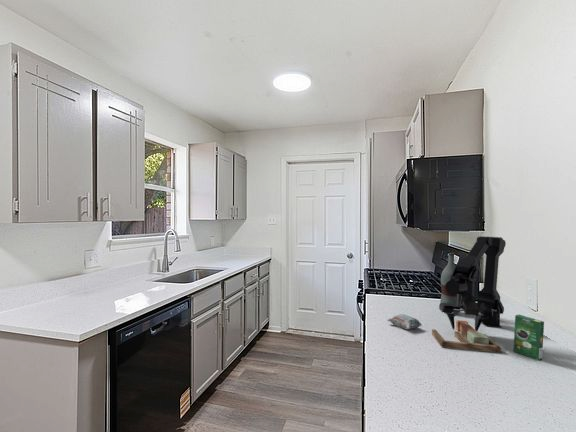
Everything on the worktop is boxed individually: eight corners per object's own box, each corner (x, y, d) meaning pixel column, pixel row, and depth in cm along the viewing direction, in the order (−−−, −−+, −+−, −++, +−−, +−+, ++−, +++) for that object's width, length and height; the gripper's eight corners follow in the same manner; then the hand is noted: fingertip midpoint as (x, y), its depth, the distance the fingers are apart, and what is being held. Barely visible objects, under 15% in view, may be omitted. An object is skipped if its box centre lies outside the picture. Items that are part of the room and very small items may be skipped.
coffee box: (544, 359, 105) (544, 320, 105) (539, 361, 104) (540, 321, 104) (518, 350, 112) (518, 313, 112) (513, 351, 111) (514, 314, 111)
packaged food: (408, 333, 127) (408, 321, 127) (386, 324, 137) (386, 313, 137) (422, 330, 131) (422, 318, 131) (399, 322, 141) (400, 311, 141)
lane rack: (484, 339, 122) (484, 333, 122) (501, 352, 110) (501, 347, 110) (431, 334, 126) (431, 329, 126) (441, 347, 113) (441, 341, 113)
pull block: (467, 330, 132) (467, 321, 132) (488, 349, 113) (488, 338, 113) (454, 329, 133) (454, 320, 133) (473, 347, 113) (473, 336, 113)
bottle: (464, 313, 157) (465, 253, 157) (454, 316, 152) (456, 254, 152) (445, 308, 164) (447, 252, 165) (436, 311, 159) (437, 252, 160)
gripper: (447, 295, 122) (446, 335, 122) (500, 298, 119) (499, 339, 119) (439, 289, 133) (438, 325, 133) (487, 292, 130) (486, 329, 130)
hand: (464, 330), depth 128 cm, fingers open, 8 cm apart
